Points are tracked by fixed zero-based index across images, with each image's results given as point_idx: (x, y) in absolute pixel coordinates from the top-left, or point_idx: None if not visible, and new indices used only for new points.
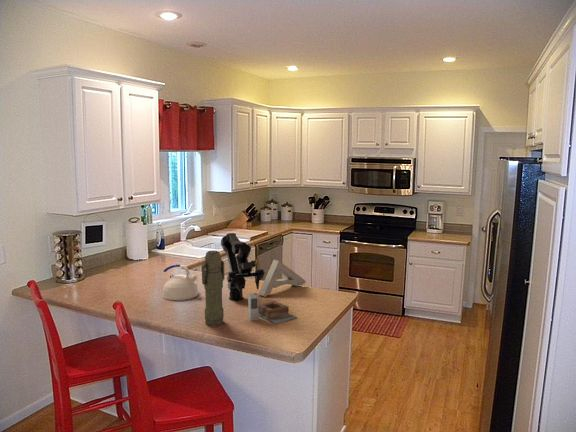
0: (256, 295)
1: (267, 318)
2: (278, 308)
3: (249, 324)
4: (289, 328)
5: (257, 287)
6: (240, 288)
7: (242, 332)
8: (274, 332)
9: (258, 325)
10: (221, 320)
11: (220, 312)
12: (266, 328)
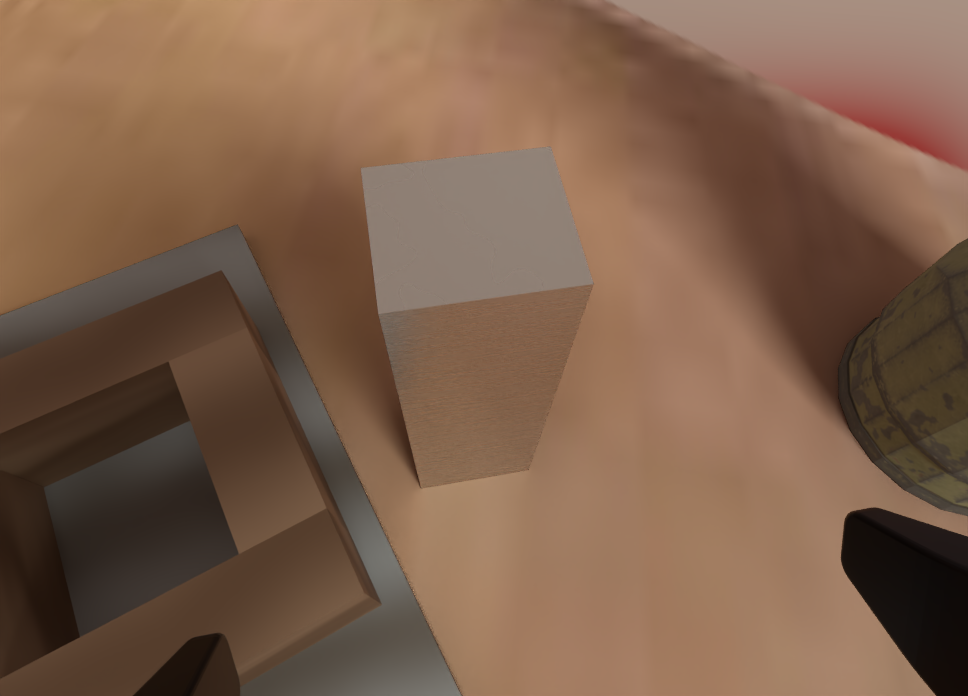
0: (402, 166)
1: (295, 360)
2: (62, 360)
3: None
4: (157, 135)
5: (211, 671)
6: (907, 542)
7: (606, 134)
8: (323, 90)
9: None
10: (874, 327)
11: (958, 253)
12: None
